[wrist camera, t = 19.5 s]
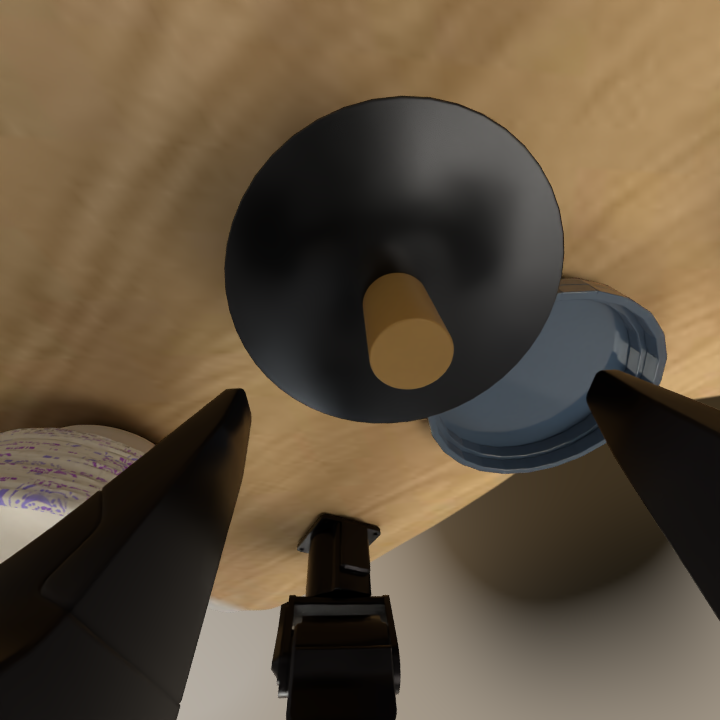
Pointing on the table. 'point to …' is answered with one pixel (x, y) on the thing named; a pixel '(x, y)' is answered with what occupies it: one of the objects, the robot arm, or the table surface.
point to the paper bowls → (56, 475)
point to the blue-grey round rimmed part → (555, 384)
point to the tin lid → (394, 259)
